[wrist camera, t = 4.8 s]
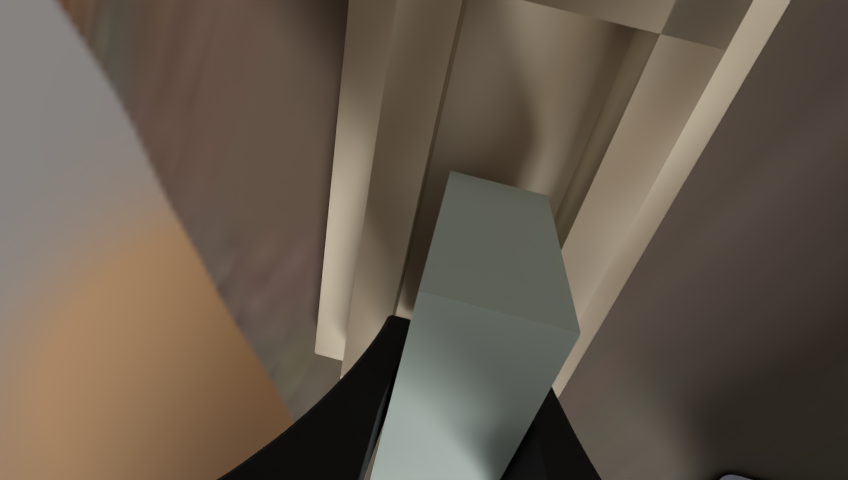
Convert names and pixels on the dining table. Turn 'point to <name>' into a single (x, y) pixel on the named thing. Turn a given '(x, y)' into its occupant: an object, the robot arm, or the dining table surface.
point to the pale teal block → (479, 336)
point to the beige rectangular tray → (520, 135)
